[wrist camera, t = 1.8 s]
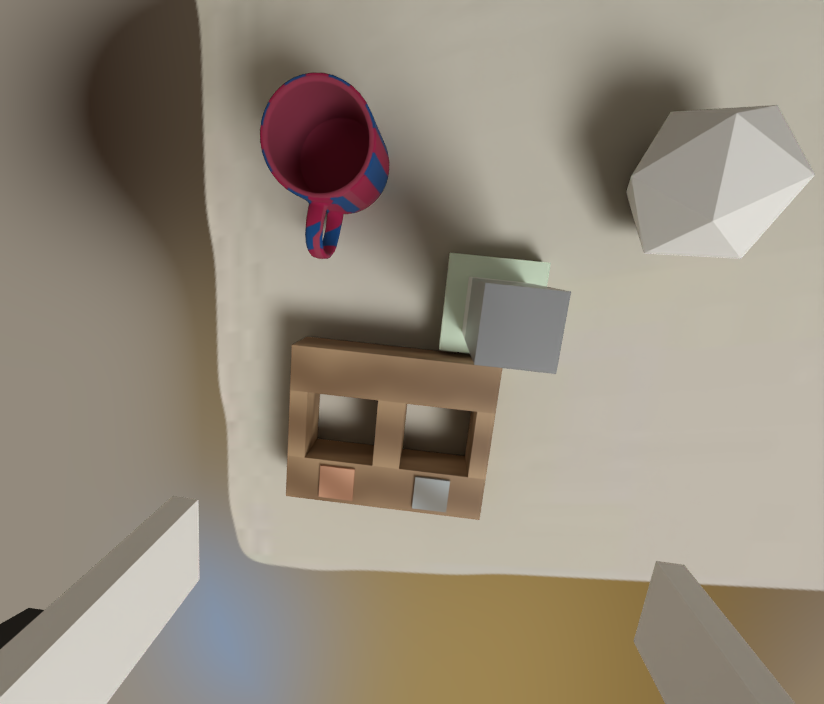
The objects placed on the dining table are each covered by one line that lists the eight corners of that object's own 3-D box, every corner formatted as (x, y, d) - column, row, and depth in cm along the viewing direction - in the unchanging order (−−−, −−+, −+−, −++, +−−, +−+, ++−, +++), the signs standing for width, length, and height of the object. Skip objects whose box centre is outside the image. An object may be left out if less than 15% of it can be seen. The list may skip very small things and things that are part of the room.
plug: (468, 276, 29) (485, 282, 19) (525, 282, 29) (571, 291, 19) (461, 332, 30) (474, 364, 20) (517, 338, 30) (556, 373, 20)
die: (619, 279, 31) (790, 293, 23) (571, 190, 26) (770, 168, 18) (669, 193, 33) (847, 178, 25) (634, 93, 27) (844, 32, 19)
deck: (449, 253, 31) (450, 252, 29) (543, 262, 31) (550, 262, 29) (438, 344, 32) (438, 349, 30) (528, 354, 32) (534, 360, 30)
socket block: (306, 336, 33) (290, 345, 29) (495, 357, 32) (502, 368, 29) (300, 473, 35) (285, 497, 32) (475, 494, 35) (479, 521, 31)
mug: (399, 128, 29) (388, 88, 23) (368, 267, 31) (349, 268, 25) (307, 105, 29) (270, 58, 23) (283, 245, 32) (242, 240, 25)
